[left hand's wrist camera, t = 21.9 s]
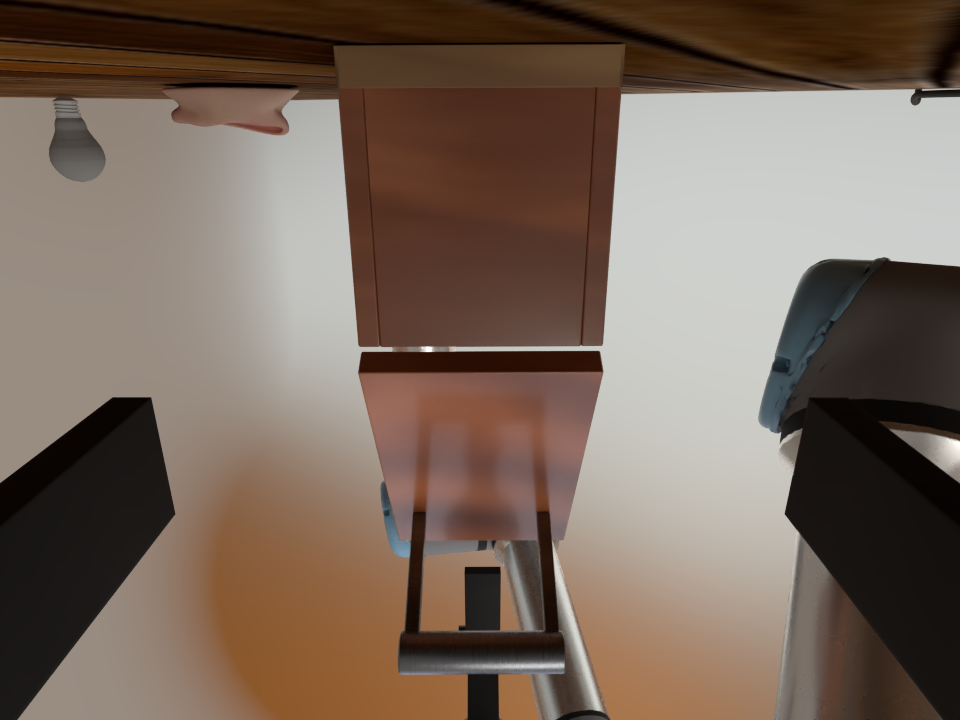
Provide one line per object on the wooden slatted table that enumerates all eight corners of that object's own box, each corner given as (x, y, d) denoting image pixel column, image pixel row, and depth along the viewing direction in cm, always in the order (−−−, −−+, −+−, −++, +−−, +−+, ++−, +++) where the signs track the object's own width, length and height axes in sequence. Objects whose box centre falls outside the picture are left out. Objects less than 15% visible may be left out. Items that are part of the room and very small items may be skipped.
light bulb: (81, 96, 74) (100, 183, 78) (99, 97, 80) (116, 178, 84) (25, 96, 73) (47, 184, 77) (47, 97, 79) (67, 179, 82)
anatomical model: (175, 142, 48) (325, 139, 53) (165, 85, 46) (320, 87, 51) (165, 137, 59) (290, 134, 63) (157, 90, 57) (285, 91, 62)
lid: (562, 522, 37) (577, 690, 32) (400, 523, 37) (386, 691, 32) (600, 350, 25) (636, 572, 19) (361, 351, 25) (326, 573, 19)
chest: (566, 70, 35) (558, 261, 39) (392, 71, 35) (401, 261, 39) (625, 44, 21) (603, 346, 25) (333, 45, 21) (357, 347, 25)
